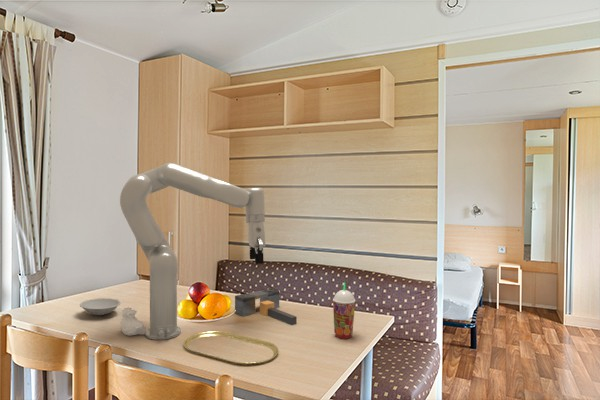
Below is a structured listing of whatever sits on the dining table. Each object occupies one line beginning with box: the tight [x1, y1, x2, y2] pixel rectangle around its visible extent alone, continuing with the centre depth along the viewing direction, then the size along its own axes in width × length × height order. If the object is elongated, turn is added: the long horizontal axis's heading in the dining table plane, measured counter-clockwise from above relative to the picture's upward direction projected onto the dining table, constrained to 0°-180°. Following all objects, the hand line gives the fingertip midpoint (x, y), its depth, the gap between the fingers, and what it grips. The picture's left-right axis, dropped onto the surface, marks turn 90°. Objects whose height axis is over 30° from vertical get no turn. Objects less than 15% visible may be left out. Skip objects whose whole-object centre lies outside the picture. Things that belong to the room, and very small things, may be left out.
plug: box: [259, 300, 298, 326], centre depth 171 cm, size 20×4×5 cm, turn 43°
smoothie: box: [332, 282, 356, 340], centre depth 152 cm, size 8×8×20 cm
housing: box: [234, 288, 280, 317], centre depth 182 cm, size 6×20×8 cm, turn 133°
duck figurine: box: [119, 306, 146, 337], centre depth 151 cm, size 12×8×11 cm
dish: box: [79, 297, 122, 316], centre depth 172 cm, size 18×14×5 cm
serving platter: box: [183, 330, 279, 366], centre depth 139 cm, size 19×35×2 cm, turn 62°
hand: (256, 261), depth 164 cm, fingers open, 9 cm apart
